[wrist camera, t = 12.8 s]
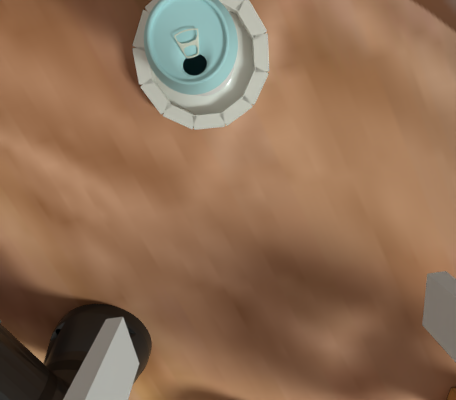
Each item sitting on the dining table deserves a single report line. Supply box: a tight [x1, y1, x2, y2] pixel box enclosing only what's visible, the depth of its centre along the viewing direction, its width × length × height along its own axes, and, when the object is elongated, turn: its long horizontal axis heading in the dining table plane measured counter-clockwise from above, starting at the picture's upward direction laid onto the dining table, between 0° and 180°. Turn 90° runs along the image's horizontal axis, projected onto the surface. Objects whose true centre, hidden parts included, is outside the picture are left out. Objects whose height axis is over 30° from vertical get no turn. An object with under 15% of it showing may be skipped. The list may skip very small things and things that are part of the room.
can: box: [144, 0, 238, 96], centre depth 25 cm, size 7×7×12 cm
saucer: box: [132, 0, 269, 130], centre depth 30 cm, size 14×14×2 cm
